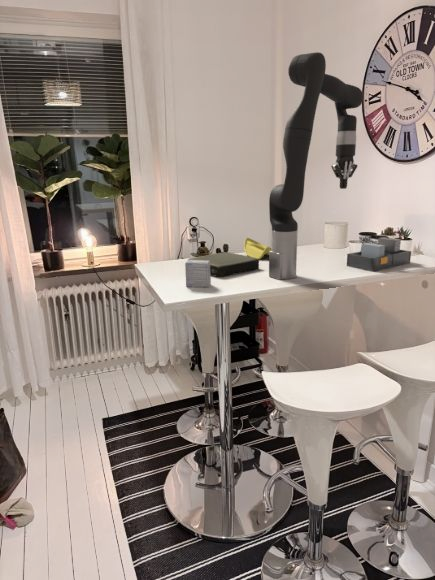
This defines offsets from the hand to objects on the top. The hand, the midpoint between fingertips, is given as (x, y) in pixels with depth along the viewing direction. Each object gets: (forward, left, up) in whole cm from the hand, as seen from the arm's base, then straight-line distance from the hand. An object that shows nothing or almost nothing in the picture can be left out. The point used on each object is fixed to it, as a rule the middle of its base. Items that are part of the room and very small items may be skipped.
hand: (343, 188), depth 173 cm
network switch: (-48, +18, -31) cm, 60 cm away
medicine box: (-69, +2, -31) cm, 75 cm away
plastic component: (-18, +31, -31) cm, 47 cm away
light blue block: (+2, -15, -29) cm, 33 cm away
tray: (+7, -14, -30) cm, 34 cm away
